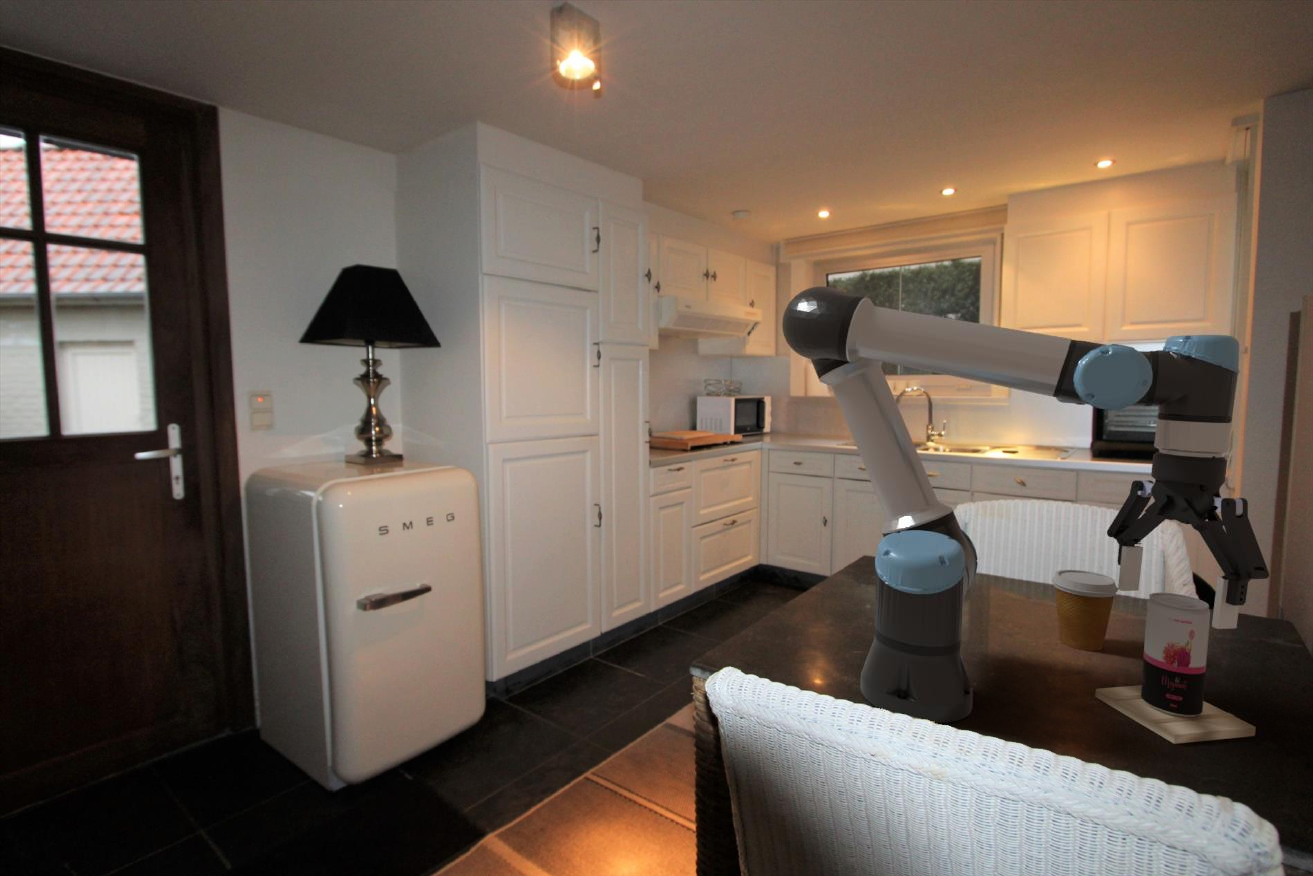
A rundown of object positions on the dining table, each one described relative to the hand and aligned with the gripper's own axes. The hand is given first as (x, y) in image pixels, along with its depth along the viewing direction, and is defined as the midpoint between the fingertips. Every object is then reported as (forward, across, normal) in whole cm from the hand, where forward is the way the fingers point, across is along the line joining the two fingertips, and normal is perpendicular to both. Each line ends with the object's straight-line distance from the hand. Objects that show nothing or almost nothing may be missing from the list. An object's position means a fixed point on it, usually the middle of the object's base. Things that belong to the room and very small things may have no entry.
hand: (1172, 607), depth 85 cm
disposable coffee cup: (+16, +22, -8) cm, 28 cm away
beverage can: (+14, -1, -1) cm, 14 cm away
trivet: (+15, -1, -1) cm, 15 cm away
